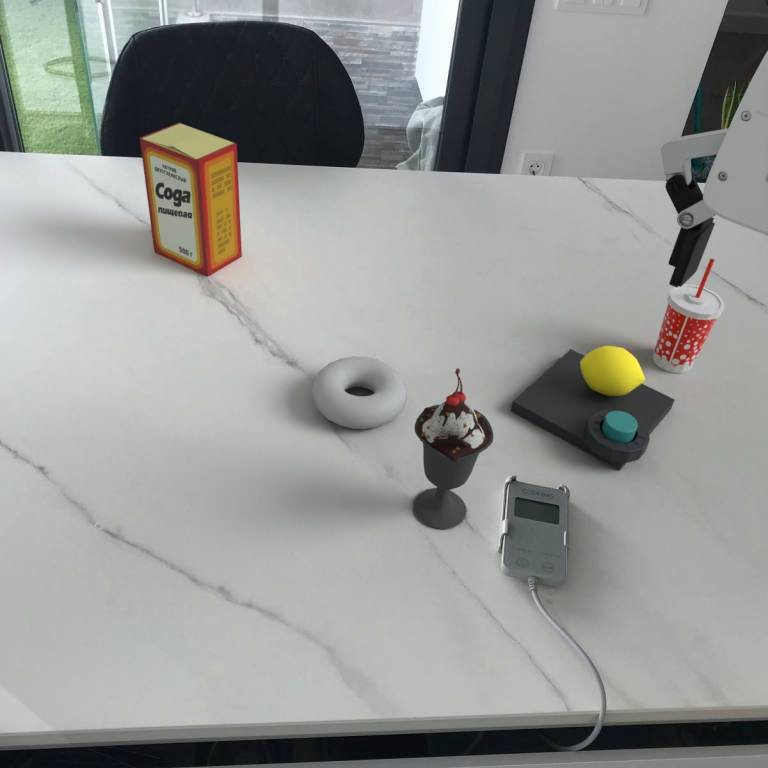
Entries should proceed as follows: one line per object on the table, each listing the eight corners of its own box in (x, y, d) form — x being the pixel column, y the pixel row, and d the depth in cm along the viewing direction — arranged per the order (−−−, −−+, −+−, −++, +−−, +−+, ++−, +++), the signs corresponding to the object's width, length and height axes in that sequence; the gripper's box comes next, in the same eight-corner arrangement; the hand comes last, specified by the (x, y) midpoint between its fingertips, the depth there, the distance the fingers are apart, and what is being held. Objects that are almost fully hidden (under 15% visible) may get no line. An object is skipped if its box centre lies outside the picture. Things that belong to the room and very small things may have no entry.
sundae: (440, 471, 76) (462, 349, 66) (489, 514, 72) (520, 391, 62) (389, 501, 72) (404, 377, 63) (437, 548, 68) (461, 423, 59)
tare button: (638, 432, 78) (643, 420, 77) (625, 448, 76) (629, 436, 75) (610, 417, 80) (614, 406, 79) (596, 432, 78) (600, 421, 77)
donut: (381, 449, 78) (420, 391, 85) (383, 424, 75) (423, 367, 82) (294, 416, 80) (338, 363, 87) (294, 391, 78) (339, 338, 85)
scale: (680, 413, 85) (689, 392, 83) (624, 481, 76) (633, 460, 75) (567, 358, 92) (573, 337, 90) (504, 415, 83) (510, 394, 81)
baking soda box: (154, 252, 103) (139, 134, 93) (189, 233, 107) (178, 119, 97) (208, 276, 99) (198, 157, 89) (241, 256, 104) (236, 140, 93)
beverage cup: (704, 359, 94) (747, 258, 85) (689, 384, 89) (733, 281, 81) (655, 339, 96) (692, 239, 87) (638, 363, 92) (675, 260, 83)
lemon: (569, 394, 84) (581, 355, 81) (579, 367, 88) (590, 328, 85) (634, 414, 82) (648, 375, 79) (640, 385, 86) (655, 347, 83)
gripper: (690, -5, 40) (605, 277, 51) (1084, 87, 32) (884, 397, 43) (739, -23, 45) (651, 239, 56) (1093, 53, 37) (911, 341, 48)
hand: (753, 308), depth 49 cm, fingers open, 9 cm apart
